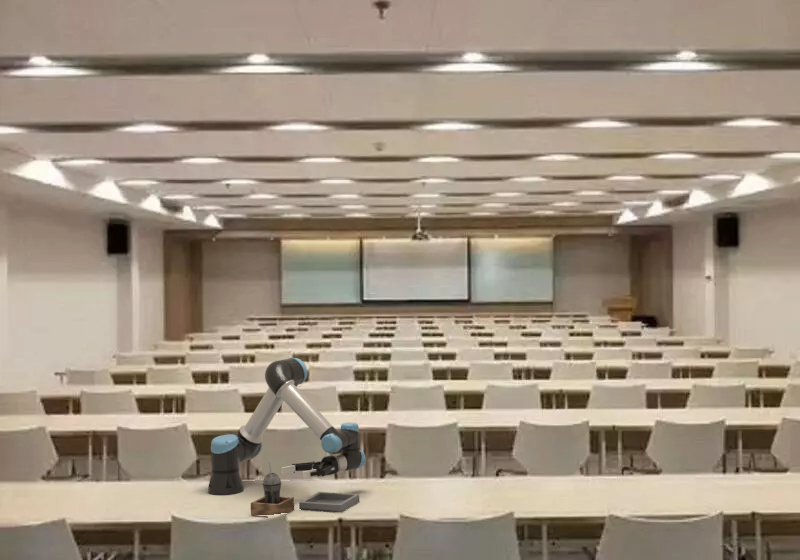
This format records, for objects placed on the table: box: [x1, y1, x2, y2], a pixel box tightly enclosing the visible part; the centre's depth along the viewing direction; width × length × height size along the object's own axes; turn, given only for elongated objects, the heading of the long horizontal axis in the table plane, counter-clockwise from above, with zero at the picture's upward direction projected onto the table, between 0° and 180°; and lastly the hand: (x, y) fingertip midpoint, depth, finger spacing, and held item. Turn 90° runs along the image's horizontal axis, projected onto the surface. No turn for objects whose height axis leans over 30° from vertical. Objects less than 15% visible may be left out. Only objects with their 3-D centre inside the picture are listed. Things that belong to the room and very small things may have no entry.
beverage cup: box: [262, 462, 282, 504], centre depth 382 cm, size 7×7×20 cm
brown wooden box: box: [250, 495, 295, 516], centre depth 382 cm, size 12×12×5 cm
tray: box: [298, 491, 360, 513], centre depth 391 cm, size 18×18×3 cm
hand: (292, 473), depth 389 cm, fingers open, 13 cm apart
